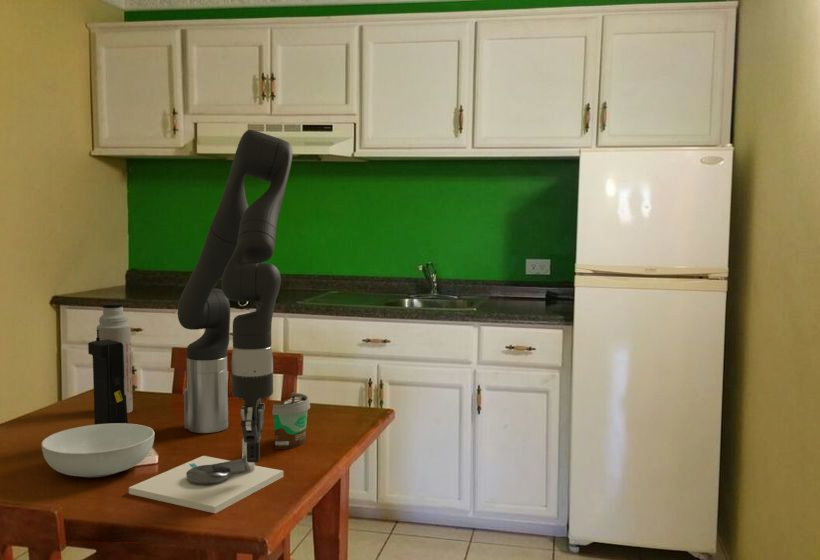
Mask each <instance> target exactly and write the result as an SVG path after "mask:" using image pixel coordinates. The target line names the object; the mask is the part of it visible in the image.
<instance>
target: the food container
mask: <svg viewBox="0 0 820 560" xmlns="http://www.w3.org/2000/svg"><path fill="white" fill-rule="evenodd" d="M272 406H273V407H272V412H271V413H272V416H273V430H274V431H273V432H274V445H275V446H274V449H275V450H278V449H280V450H282V449H286V450H287V449H293V448H298V447H302V446H303V445H304V444H305V443H306V438H307V437H306V435H307V420H308V410H310V409H311V403H310V399H309V397H308V396H307V395H305V394H303V393H301V392H300V393H299V392H291V395H290V397H289V398H288V399H284V400H283V401H281V403H279V404H272Z"/></svg>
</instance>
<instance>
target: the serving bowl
mask: <svg viewBox="0 0 820 560" xmlns="http://www.w3.org/2000/svg"><path fill="white" fill-rule="evenodd" d="M154 441H155V431H154V429H153V428H152V427H149V426H146V425H142V424H136V423H128V424H127V423H111V424H97V425H94V424H89V425H83V426H77V427H73V428H67V429H64V430H61V431H58V432H55V433H52V434H50V435H49V436H47V437H46V438H44V439H43V440H42V441H41V445H40V446H41V452H42V455H43V458H44V460H45V461H46V463H47V464H48V465H49V466H50V467H51V468H52V469H53V470H54V471H56V472H58V473H59V474H63V475H67V476H71V477H72V476H73V477H81V478H82V477H83V478H102V477H107V476H111V475H115V474H118V473H120V472H123V471H124V472H125V471H127V470H129V469H131V468H133V467H135V466H137V465H138V464H140V463H141V462H143V460H145V459H146V457H148V455H149V454H150V452H151V450H152V448H153V446H154Z"/></svg>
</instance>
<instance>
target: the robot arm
mask: <svg viewBox="0 0 820 560" xmlns="http://www.w3.org/2000/svg"><path fill="white" fill-rule="evenodd" d="M292 162H293V147H292V144H291V143H289V141H286V140H285V139H282V138H279V137H276V136H272V135H270V134H267V133H264V132H260V131H259V130H256V129H247V130H246V131H244V133H243V134H242V136H241V137H240V140H239V142H238V145H237V147H236V150H235V154H234V157H233V160H232V164H231V167H230V170H229V174H228V178H227V181H226V184H225V187H224V191H223V194H222V196H221V199H220V201H219V204H218V206H217V208H216V210H215V214H214V216H213V219H212V221H211V222H210V223H211V224H210V226H209V229H208V232H207V234H206V238H205V241H204V244H203V247H202V249H201V252H200V255H199V257H198V260H197V262H196V265H195V267H194V268H193V272H192V273H191V275H190V277H189V279H188V281H187V283H186V285H185V286H184V289H183V291H182V292H181V295H180V298H179V301H178V305H177V318H178V322H179V324H180V325H181V326H182V328H184V329H187V330H191V331H192V330H204V333H203V334H202V335H201V336H200V337H199V338H198V339H196V340H195V341H193V342H191V343H189V344H188V346H187V348H186V380H187V381H186V382H187V383H186V385H187V386H186V388H184V389H183V403H184V406H183V407H184V412H183V413H184V429H186V430H188V431H189V432H192V433H196V434H197V433H198V434H211V433H218V432H221V431H224V430H227V429H228V428H229V400H228V399H229V398H228V397H229V396H228V389H229V388H228V385H229V384H228V382H229V381H228V348H229V345H230V333H231V332H230V330H231V326H230V325H231V304H230V301H232V302H259V303H260V305H259V307H258V309H256V310H255V311H252V312H247V313H241V314H239V315H236V316H235V317H234V318H233V320H232V354H231V394H232V396H233V397H234V398H236V399H242V400H243V401H244V403H243V404H242V406H241V408H240V417H241V418H242V420H241V423H240V426H241V430H242V431H241V432H242V436H243V438H244V443H247V461H248V462H255V463H259V461H260V458H261V455H260V454H261V453H260V452H261V443H260V441H261V439H262V433H263V426H264V412H266V411H265V409H266V406H265V403H264V402H262V399H266V398H269V397H271V396H272V395H273V393H274V357H273V349H272V325H273V324H272V323H273V315H274V310H275V306H276V302H277V298H278V295H279V292H280V289H281V284H282V283H281V282H282V276H281V272H280V270H279V269H278V268H277V267H276V266H275V264H272V263H270V262H269V263H267V261H269V260H270V259H272V257H273V256H274V253H275V246H276V245H275V244H276V235H277V225H278V220H279V214H280V211H281V208H282V207H281V206H282V205H283V204H282V203H283V200H284V196H285V192H286V187H287V184H288V180H289V176H290V171H291V166H292ZM247 176H250V177H253V178H256V179H259V180H262V181H266V182H269V187H268V188H267V189H266V191H264V193H263V194H262V195H260V196H259V197H258V198H257V199H255V201H253V202H252V203H251V204H250V205H249V204H248V200H247V198H246V197H247V196H246V190H245V178H246V177H247ZM219 282H221V288H215V287H216V285H218V283H219Z"/></svg>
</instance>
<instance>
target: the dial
mask: <svg viewBox="0 0 820 560" xmlns="http://www.w3.org/2000/svg"><path fill="white" fill-rule="evenodd" d="M241 457H242V458H238V459H234V460H229V461H228V462H223V463H217V464H212V465H202V466H198V467H194V468H192V469H190V470H188V471H187V473H186V477H187V481H188V482H190V483H193V484H214V483H219V482H222V481H225V480H227V479H228V478H229V477H230V474H232V473H237V472H242V471H252V470H254V469H255V466H256V462H248V461H247V443H244V437H243V438H241Z"/></svg>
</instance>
